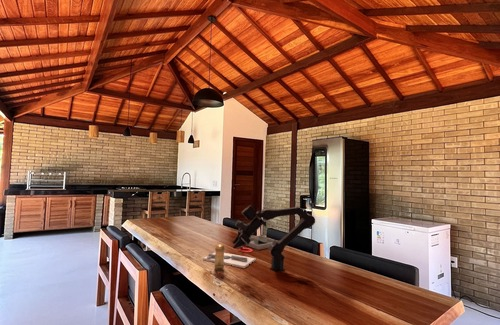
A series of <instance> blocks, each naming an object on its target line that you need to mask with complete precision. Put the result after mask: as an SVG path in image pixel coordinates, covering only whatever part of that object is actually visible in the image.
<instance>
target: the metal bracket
mask: <svg viewBox="0 0 500 325" xmlns="http://www.w3.org/2000/svg"><path fill="white" fill-rule="evenodd" d="M252 237H253V238H251V239H254V244H258V240H260V238H259V237H254V236H252ZM260 241H265V242H267V239H262V238H261V240H260ZM269 243H272V242H269Z"/></svg>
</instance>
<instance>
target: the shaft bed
mask: <svg viewBox="0 0 500 325" xmlns="http://www.w3.org/2000/svg"><path fill="white" fill-rule="evenodd" d="M215 253H216V251H214V252H213V253H208V255H206V256H205V257H203V258H202V260H203V261H206V262H211V263H215ZM256 260H257V259H256V257H250V256H249V257H248V256H246V255H245V256H243V255H238V254H234V253H233V254H232V253H226V252H224V265H226V266H231V265H232V266H233V267H236V268H240V269H246V268H247V267H248V266H250V265H251V264H252V262H253V263H254V262H255V261H256ZM249 264H250V265H249Z"/></svg>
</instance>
